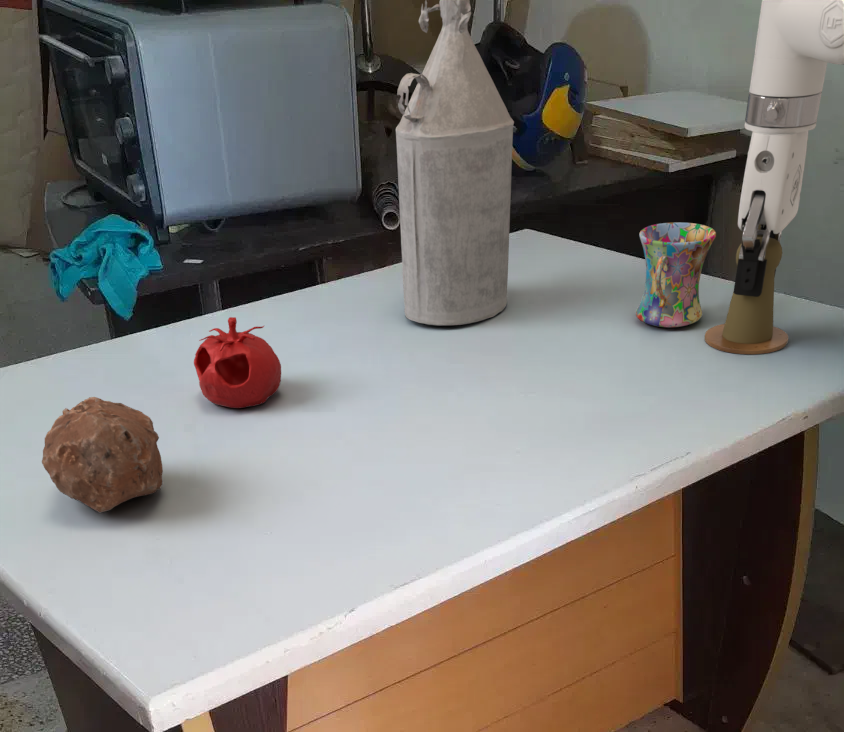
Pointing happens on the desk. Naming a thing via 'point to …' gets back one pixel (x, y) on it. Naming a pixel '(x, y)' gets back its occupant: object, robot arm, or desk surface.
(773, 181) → the robot arm
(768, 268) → the pepper shaker
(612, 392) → the desk surface
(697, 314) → the mug
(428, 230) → the canister
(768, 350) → the coaster
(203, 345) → the hollow red tomato
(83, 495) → the decorative rock
